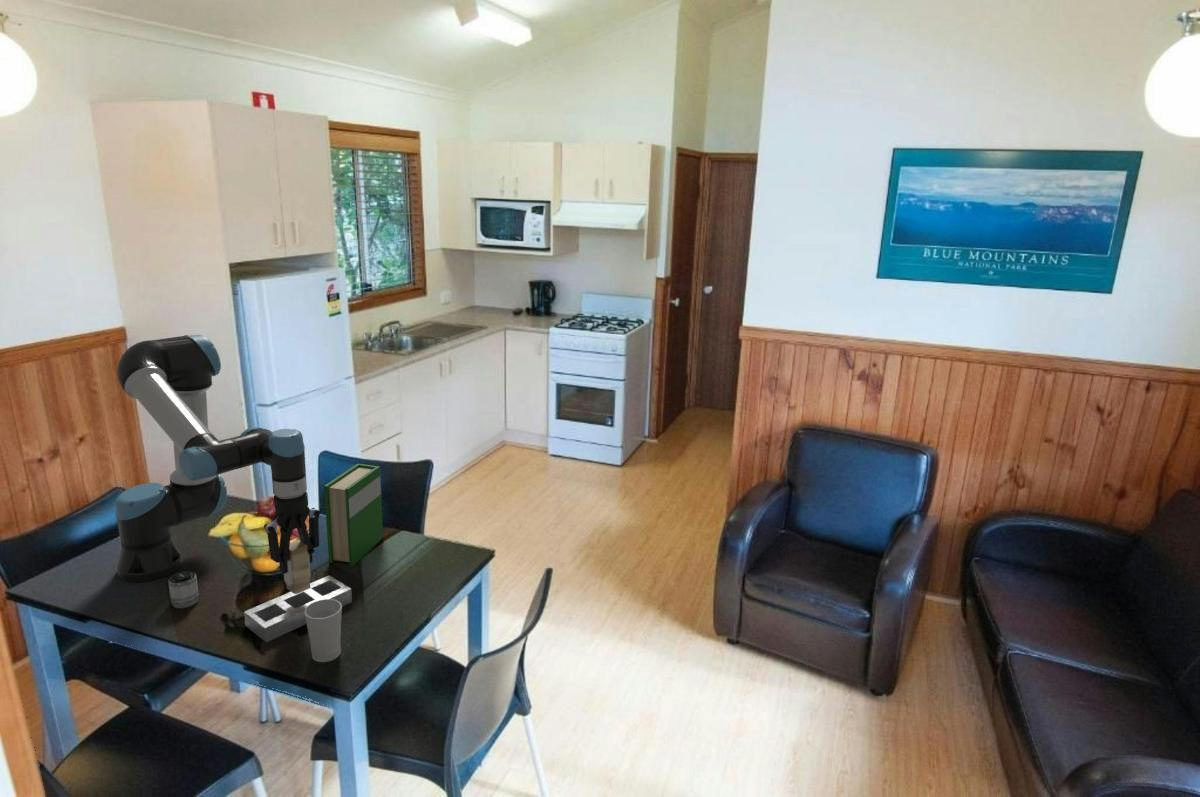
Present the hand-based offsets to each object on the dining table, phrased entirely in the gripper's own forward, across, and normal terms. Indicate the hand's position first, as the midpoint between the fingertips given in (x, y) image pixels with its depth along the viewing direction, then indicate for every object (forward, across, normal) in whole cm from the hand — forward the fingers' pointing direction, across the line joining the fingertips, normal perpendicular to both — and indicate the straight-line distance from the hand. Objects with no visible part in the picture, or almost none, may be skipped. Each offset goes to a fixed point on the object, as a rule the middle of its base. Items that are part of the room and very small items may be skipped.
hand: (297, 578), depth 175 cm
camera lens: (+10, -16, +26) cm, 32 cm away
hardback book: (+10, +28, +18) cm, 35 cm away
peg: (+3, 0, 0) cm, 3 cm away
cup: (+10, -4, -19) cm, 22 cm away
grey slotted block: (+10, 0, 0) cm, 10 cm away
